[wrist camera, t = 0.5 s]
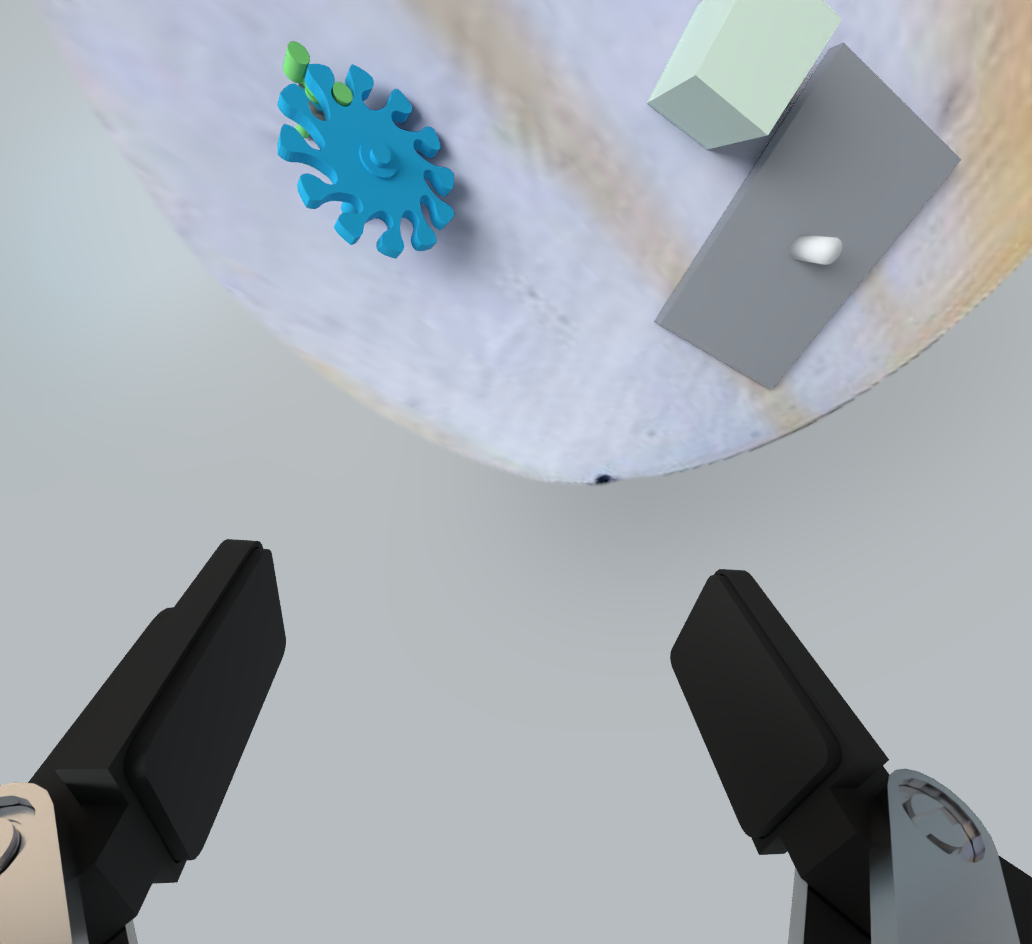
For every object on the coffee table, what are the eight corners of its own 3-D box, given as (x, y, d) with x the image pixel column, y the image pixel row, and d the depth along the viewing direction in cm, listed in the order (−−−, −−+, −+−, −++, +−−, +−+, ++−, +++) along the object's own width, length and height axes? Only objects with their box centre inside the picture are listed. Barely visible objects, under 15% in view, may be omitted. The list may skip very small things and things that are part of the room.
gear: (489, 210, 28) (373, 276, 23) (445, 251, 33) (341, 314, 28) (377, 15, 24) (209, 46, 20) (345, 94, 29) (204, 135, 24)
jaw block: (697, 4, 25) (767, -57, 19) (759, 60, 27) (841, 19, 21) (647, 103, 28) (695, 75, 22) (707, 149, 29) (767, 135, 23)
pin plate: (829, 49, 27) (884, 24, 23) (944, 161, 31) (1007, 155, 27) (654, 321, 35) (675, 334, 31) (763, 385, 38) (793, 403, 35)
